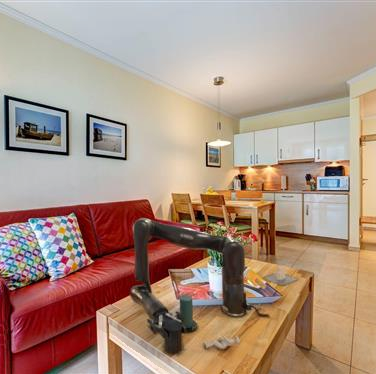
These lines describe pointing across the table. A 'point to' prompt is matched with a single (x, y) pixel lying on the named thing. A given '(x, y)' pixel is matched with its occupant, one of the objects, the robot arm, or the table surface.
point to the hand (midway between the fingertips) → (176, 334)
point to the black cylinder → (173, 336)
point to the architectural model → (280, 277)
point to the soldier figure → (224, 342)
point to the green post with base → (187, 312)
